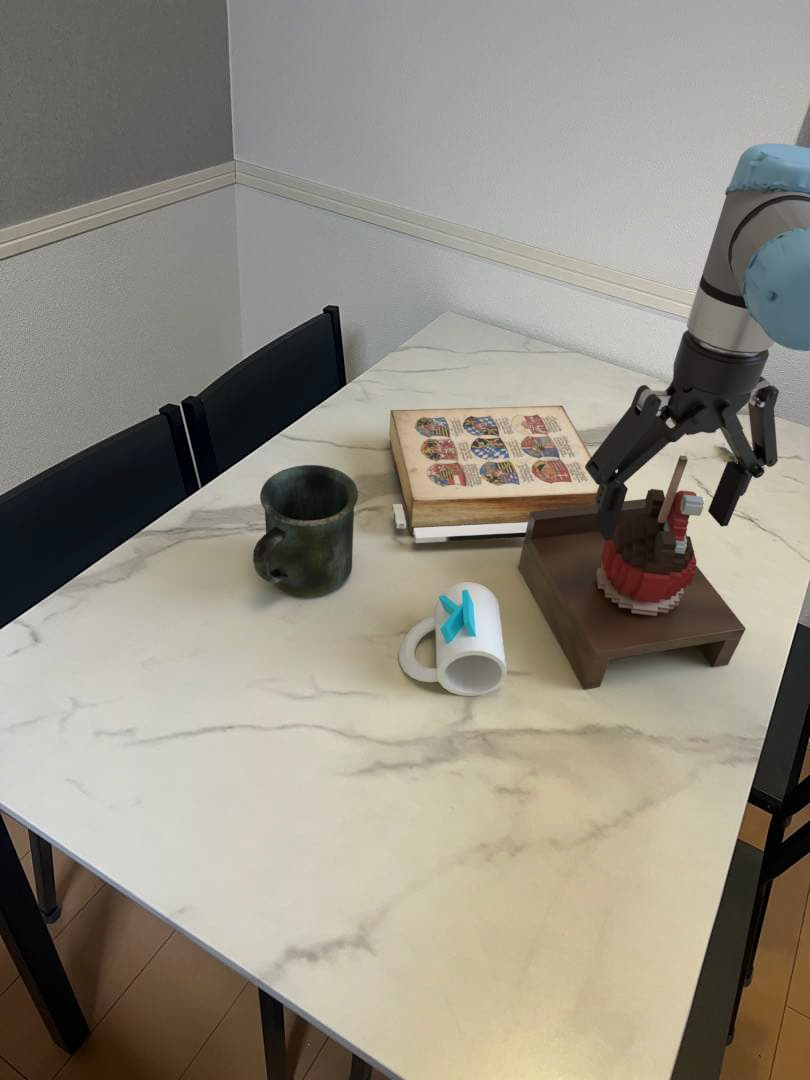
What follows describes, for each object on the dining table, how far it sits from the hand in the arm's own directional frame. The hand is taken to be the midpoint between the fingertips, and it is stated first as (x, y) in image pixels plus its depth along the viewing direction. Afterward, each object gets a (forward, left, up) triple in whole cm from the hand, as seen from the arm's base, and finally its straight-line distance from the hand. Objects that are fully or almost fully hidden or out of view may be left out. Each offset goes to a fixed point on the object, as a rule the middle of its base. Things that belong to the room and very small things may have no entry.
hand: (661, 525), depth 84 cm
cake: (0, 0, -10) cm, 10 cm away
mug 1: (+15, +36, -16) cm, 42 cm away
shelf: (+2, 0, -16) cm, 16 cm away
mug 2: (0, +22, -16) cm, 27 cm away
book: (+28, +8, -16) cm, 33 cm away
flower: (+30, -36, -16) cm, 50 cm away
